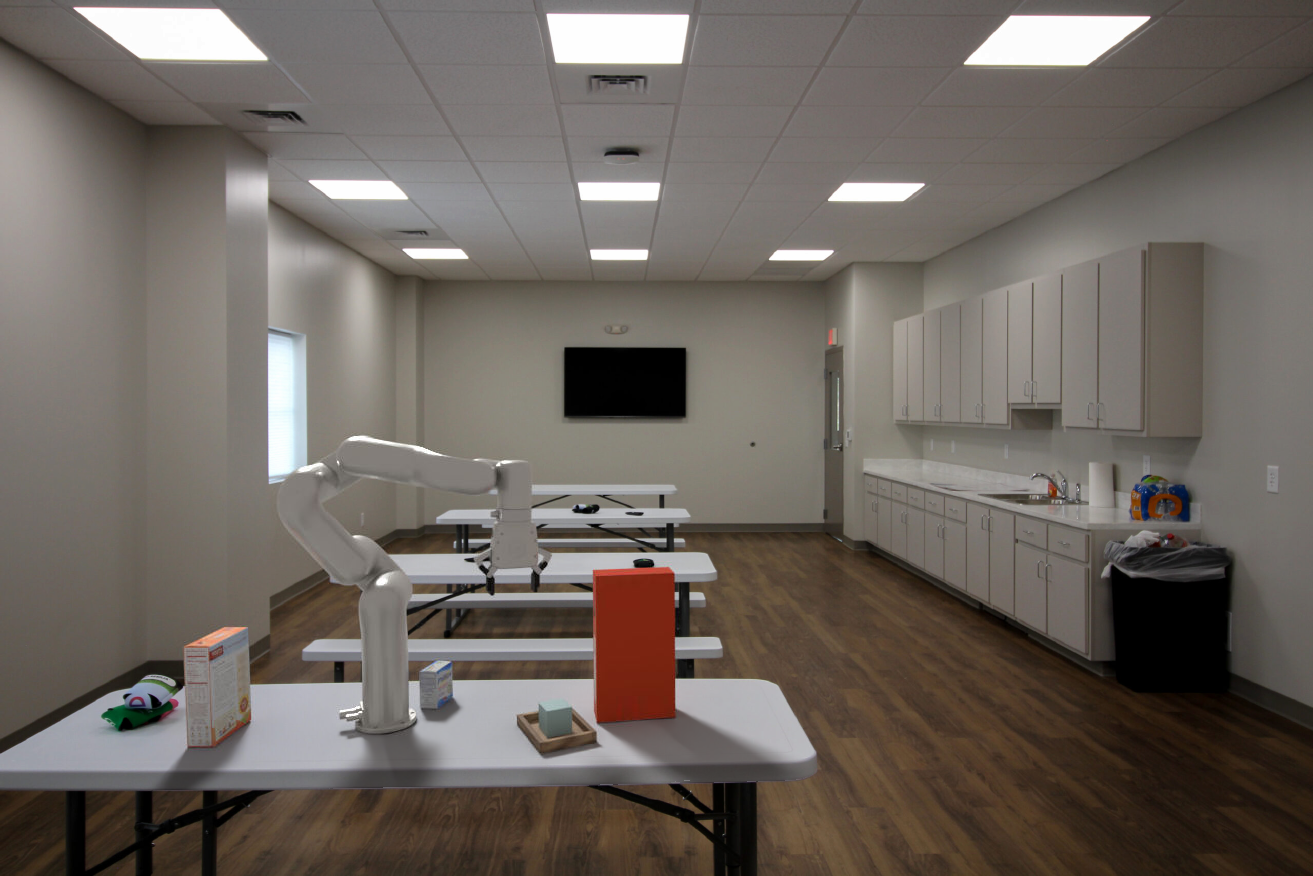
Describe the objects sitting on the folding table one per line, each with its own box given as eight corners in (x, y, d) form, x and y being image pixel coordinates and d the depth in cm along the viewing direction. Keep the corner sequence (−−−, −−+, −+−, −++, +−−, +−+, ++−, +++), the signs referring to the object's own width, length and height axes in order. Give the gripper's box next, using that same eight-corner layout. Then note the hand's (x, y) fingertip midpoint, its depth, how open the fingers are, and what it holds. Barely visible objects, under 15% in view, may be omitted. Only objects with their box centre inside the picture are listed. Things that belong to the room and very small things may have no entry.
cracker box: (225, 720, 168) (223, 625, 168) (252, 720, 168) (250, 626, 168) (184, 748, 154) (181, 645, 154) (213, 748, 154) (211, 645, 154)
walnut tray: (539, 754, 151) (539, 743, 151) (516, 724, 165) (516, 714, 165) (596, 742, 156) (596, 731, 156) (569, 714, 171) (569, 705, 171)
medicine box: (437, 710, 174) (436, 672, 174) (419, 708, 175) (418, 670, 175) (453, 697, 182) (452, 661, 181) (435, 696, 183) (435, 659, 182)
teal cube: (546, 738, 157) (546, 711, 157) (538, 728, 162) (538, 702, 162) (572, 733, 160) (572, 706, 159) (563, 723, 164) (563, 698, 164)
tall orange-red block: (593, 709, 174) (592, 569, 173) (668, 704, 176) (668, 566, 175) (596, 724, 166) (595, 576, 165) (675, 718, 169) (674, 573, 167)
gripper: (478, 519, 163) (477, 599, 163) (556, 516, 170) (555, 593, 171) (471, 515, 170) (470, 592, 170) (547, 512, 177) (545, 586, 177)
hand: (512, 592), depth 170 cm, fingers open, 9 cm apart
